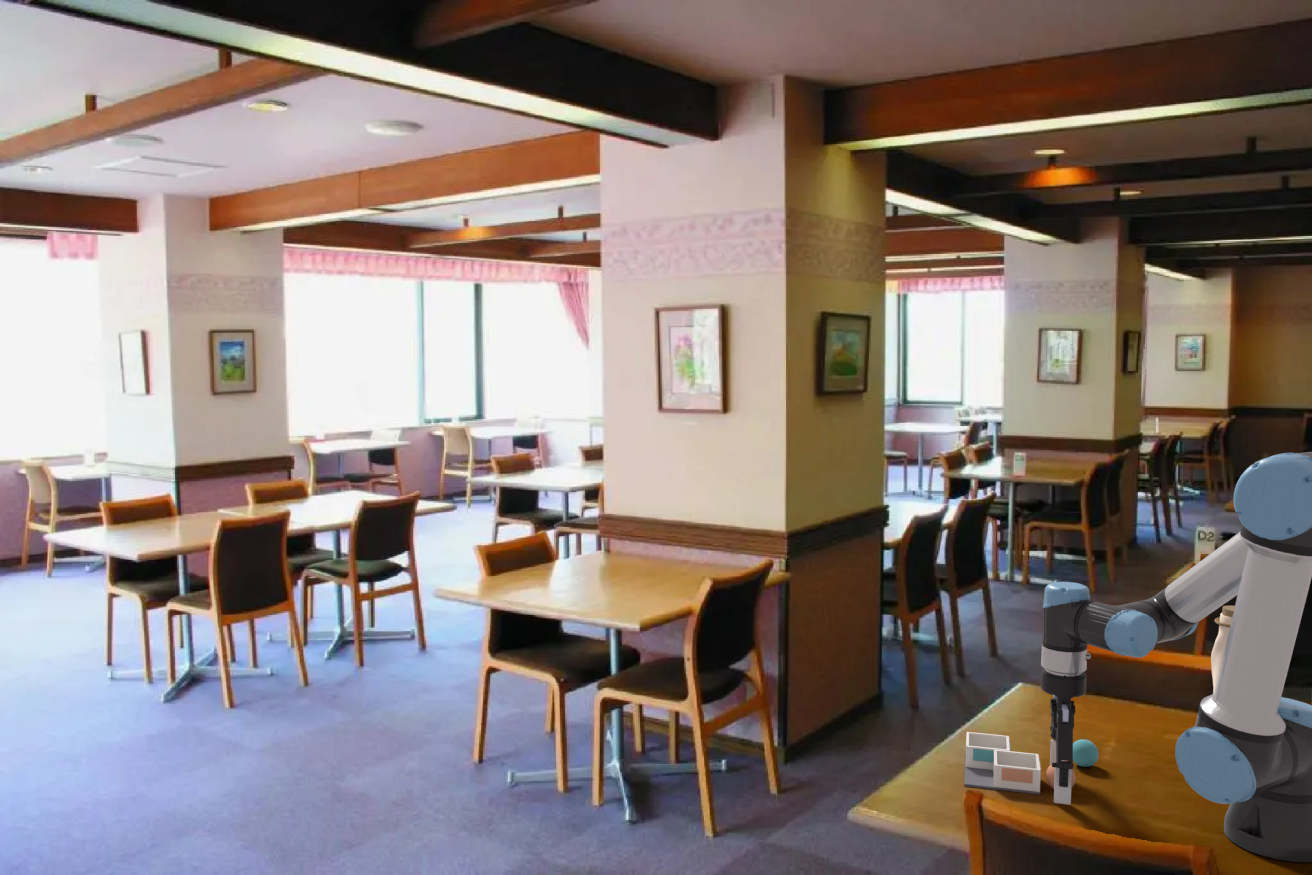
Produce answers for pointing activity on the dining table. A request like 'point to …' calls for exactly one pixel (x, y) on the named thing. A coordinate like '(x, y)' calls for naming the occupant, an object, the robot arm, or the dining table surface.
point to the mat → (984, 779)
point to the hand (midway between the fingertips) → (1059, 788)
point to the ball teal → (1085, 753)
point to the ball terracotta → (1051, 776)
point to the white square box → (1017, 770)
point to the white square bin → (984, 749)
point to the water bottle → (1221, 641)
